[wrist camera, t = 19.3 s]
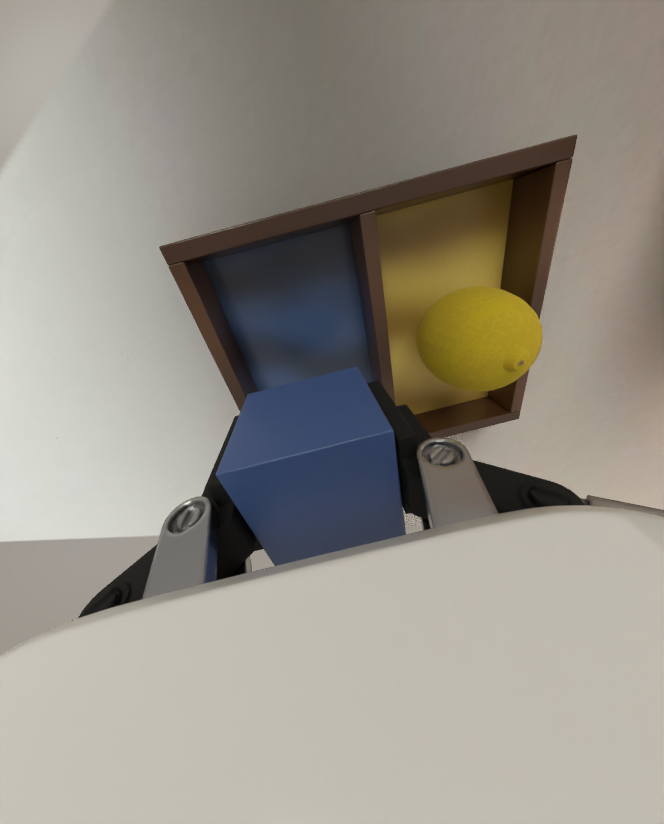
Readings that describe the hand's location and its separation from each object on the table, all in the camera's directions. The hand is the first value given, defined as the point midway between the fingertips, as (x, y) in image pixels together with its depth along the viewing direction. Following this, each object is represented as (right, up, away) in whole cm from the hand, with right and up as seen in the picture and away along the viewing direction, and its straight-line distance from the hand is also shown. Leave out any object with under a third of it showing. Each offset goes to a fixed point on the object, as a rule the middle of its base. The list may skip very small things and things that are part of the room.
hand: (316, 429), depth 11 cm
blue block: (0, 0, 0) cm, 0 cm away
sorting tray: (+4, +6, +8) cm, 11 cm away
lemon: (+8, +7, +7) cm, 13 cm away
